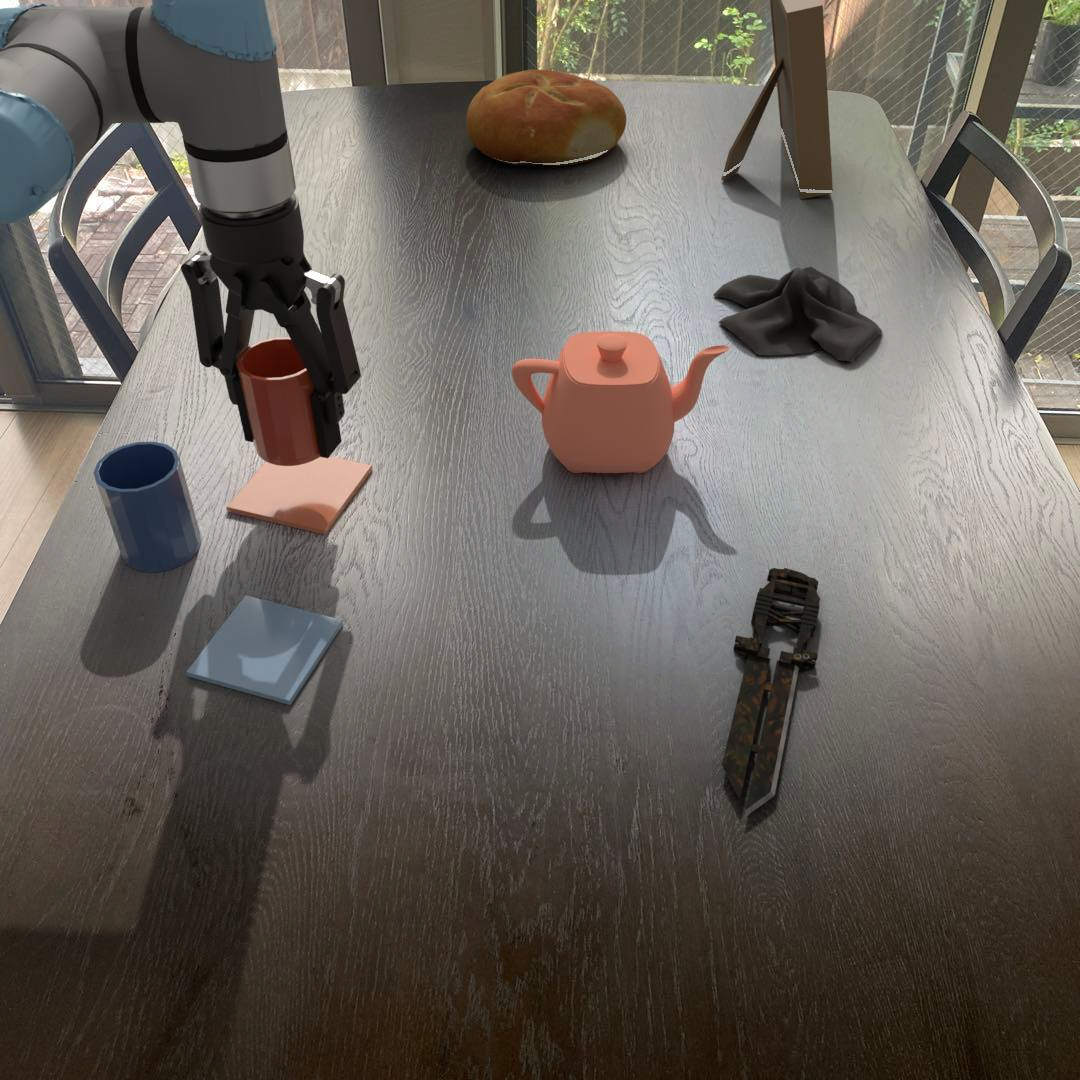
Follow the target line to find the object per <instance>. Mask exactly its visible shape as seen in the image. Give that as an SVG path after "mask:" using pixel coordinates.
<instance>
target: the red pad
mask: <svg viewBox="0 0 1080 1080" xmlns="http://www.w3.org/2000/svg"><path fill="white" fill-rule="evenodd" d="M373 471H374V469H373V465H372V464H369V463H368V464H367V463H363V462H359V461H354V460H349V459H345V458H340V457H335V456H332V455H330V457H329V458H323V457H319V458H317V459H315V460H313V461H311V462H308V463H305V464H301V465H296V466H279V465H274V464H271V463H268V462H266V461H264V463H262V465H261V466H260V467H259V468H258V469H257V471H256V472H255V473H254V474H253V475H252V476H251V478H250V479H248V481H247V482H246V483H245V485H244V486H243V487H242V488H241V489H240V490H239V491H238V492H237V494H236V495H235V496H234V498H232V500H230V502H229V503H228V504H227V505H226V512H227V513H231V514H235V515H239V516H243V517H248V518H252V519H257V520H260V521H265V522H269V523H273V524H278V525H282V526H287V527H291V528H294V529H298V530H304V531H307V532H311V533H316V534H320V535H324V536H325V535H326V534H327V533H328V532H329V530H330V529H331V528H332V527H333V525H334V523H336V521H337V520H338V518H339V517H340V515H341V514H342V513H343V512H344V510H345V508H346V507H347V506H348V504H349V503H350V502H351V500H352V499H353V498H354V496H355V495H356V494H357V492H358V491H359V489H360V488H361V487H362V485H363V484H364V483H365V481H366V480H367V478H368V477H369V476H370V474H371V473H372V472H373Z"/></svg>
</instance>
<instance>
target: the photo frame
mask: <svg viewBox="0 0 1080 1080" xmlns="http://www.w3.org/2000/svg"><path fill="white" fill-rule="evenodd" d="M769 6H770V7H769V8H770V17H771V18H770V20H771V33H772V43H773V54H774V56H773V57H774V68H773V69H772V72H771V74H770V76H769V77H768V79H767V81H766V83H765V84H764V87H763V88H762V90H761V92H760V93H759V95H758V97H757V99H756V101H755V103H754V105H753V107H752V109H751V111H750V112H749V114H748V116H747V117H746V119H745V121H744V123H743V125H742V127H741V129H740V130H739V132H738V134H737V136H736V138H735V140H734V142H733V144H732V145H731V147H730V149H729V150H728V154H727V157H726V161H725V164H724V169H723V172H727V171H729V170H730V169H732V168H733V167H734V166H736V165H737V164H739V163H740V162H741V161H742V160H743V161H744V159H745V157H746V155H747V152H748V149H749V147H750V145H751V142H752V140H753V138H754V135H755V134H756V131H757V129H758V126H759V125H760V122H761V119H762V117H763V115H764V113H765V111H766V108H767V106H768V103H769V101H770V99H771V96H772V94H773V92H774V90H775V88H776V91H777V103H778V116H779V126H781V128H782V129H783V132H784V135H785V139H786V142H787V145H788V149H789V152H790V155H791V158H792V161H793V164H794V168H795V171H796V174H797V177H798V180H799V187H798V184H797V181H796V178H795V174H794V171H793V168H792V165H791V162H790V159H789V156H788V153H787V150H786V147H785V143H784V140H783V137H782V135H781V134H780V140H781V141H782V145H783V149H784V151H785V155H786V157H787V161H788V164H789V167H790V170H791V173H792V176H793V180H794V182H795V186H796V189H797V193H798V195H799V198H800V200H804V199H810V198H815V197H820V196H825V195H830V194H832V193H806V192H800V190H799V188H800V189H808V190H809V189H812V190H813V189H815V190H832V191H833V192H834V187H833V170H832V169H833V168H832V152H831V151H832V149H831V135H830V134H831V133H830V132H831V129H830V116H829V115H830V114H829V97H828V96H829V95H828V93H829V92H828V79H827V78H828V75H827V59H826V40H825V21H824V20H825V19H824V6H823V3H822V0H769ZM781 128H780V129H781ZM743 161H742V162H743ZM741 166H742V164H741V165H740V166H739V167H737V168H736V169H734V170H733V171H732V172H730V173H729V174H727V175H726V176H723V174H722V177H721V179H720V180H721V182H725V181H727V180H728V179H729V178H731V177H732V176H734V175H735V174H737V173H738V172H739V171H740V169H741Z"/></svg>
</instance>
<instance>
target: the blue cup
mask: <svg viewBox="0 0 1080 1080" xmlns="http://www.w3.org/2000/svg"><path fill="white" fill-rule="evenodd" d="M93 476H94V480H95V483H96V485H97V488H98V493H99V494H100V497H101V500H102V503H103V506H104V509H105V512H106V515H107V517H108V521H109V524H110V526H111V529H112V532H113V535H114V538H115V540H116V544H117V547H118V549H119V553H120V555H121V558H122V560H123V562H124V563H125V564H126V565H127V566H128V567H129V568H131V569H133V570H135V571H139V572H143V573H160V572H161V573H162V572H167V571H170V570H174V569H176V568H178V567H180V566H182V565H184V564H186V563H187V562H189V561H190V560H191V559H192V558H193V557H194V556H196V554H197V553H198V551H199V549H200V547H201V544H202V536H201V531H200V527H199V524H198V520H197V516H196V513H195V509H194V506H193V502H192V498H191V494H190V491H189V487H188V484H187V483H188V482H187V480H186V476H185V473H184V469H183V465H182V462H181V458H180V456H179V454H178V451H177V450H176V449H175V448H173V447H172V446H170V445H169V444H166V443H163V442H158V441H153V440H151V441H135V442H132V443H129V444H123V445H120V446H119V447H117V448H114V449H113V450H111V451H109V452H107V453H106V454H105V455H104V456H103V457H102V458H100V459H99V460H98V462H96V465H95V468H94V470H93Z"/></svg>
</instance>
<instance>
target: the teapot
mask: <svg viewBox="0 0 1080 1080" xmlns="http://www.w3.org/2000/svg"><path fill="white" fill-rule="evenodd" d="M729 350H730V346H728V345H721V344H720V345H714V346H708V347H706V348H704V349H702V350H700V351H698V353H696V355H695V356H694V357H693V358H692V360H691V362H690V364H689V367H688V370H687V373H686V375H685V377H684V378H683V380H681V381H680V382H679V383H677V384H675V385H672V386H671V382H670V380H669V376H668V373H667V371H666V369H665V366H664V363H663V361H662V359H661V356H660V354H659V352H658V349H657V348H656V346H655V344H654V342H653V341H652V340H651V339H650V338H649V337H648V336H646V335H645V334H643V333H640V332H633V331H621V330H620V331H619V330H618V331H617V330H615V331H614V330H613V331H611V330H610V331H609V330H607V331H605V330H603V331H600V330H599V331H584V332H577V333H575V334H573V335H572V336H570V337H569V338H568V339H567V341H566V342H565V344H564V345H563V347H562V349H561V351H560V353H559V355H558V357H557V360H554V359H553V360H552V359H543V358H524V359H520V360H518V361H516V362H514V364H513V365H512V367H511V377H512V379H513V382H514V384H515V386H516V387H517V389H518V390H519V392H520V394H521V395H523V397H524V398H525V399H526V400H527V401H528V402H529V403H530V404H531V405H532V406H533V407H534V408H535V409H536V410H537V411H538V412H539V413H540V414H541V427H542V431H543V434H544V435H543V436H544V438H545V440H546V443H547V445H548V446H549V448H550V450H551V451H552V454H554V456H555V458H556V459H557V461H558V462H559V463H561V465H563V466H564V467H565V468H566V470H568V471H569V472H571V473H574V474H582V473H595V474H622V473H623V474H624V473H625V474H626V473H636V474H643V473H646V472H648V471H649V470H650V469H652V468H653V467H655V466H656V465H657V464H658V463H659V462H660V461H661V460H662V459H663V458H664V457H665V455H666V454H667V453H668V450H669V448H670V447H671V443H672V440H673V438H674V433H675V424H676V422H678V421H680V420H681V419H683V418H686V416H687V415H688V414H690V413H691V411H692V410H693V409H694V408H695V406H696V404H697V401H698V400H699V397H700V394H701V390H702V386H703V381H704V378H705V374H706V373H707V370H708V368H709V366H710V364H711V363H712V362H713V361H714V360H715V359H716V358H718V357H719V356H721V355H723V354H724V353H726V352H727V351H729ZM533 374H550V376H549V378H548V381H547V384H546V387H545V391H544V395H543V397H542V396H541V395H540V393H539V392H538V390H537V388H536V386H535V384H534V381H533V379H532V375H533Z"/></svg>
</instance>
